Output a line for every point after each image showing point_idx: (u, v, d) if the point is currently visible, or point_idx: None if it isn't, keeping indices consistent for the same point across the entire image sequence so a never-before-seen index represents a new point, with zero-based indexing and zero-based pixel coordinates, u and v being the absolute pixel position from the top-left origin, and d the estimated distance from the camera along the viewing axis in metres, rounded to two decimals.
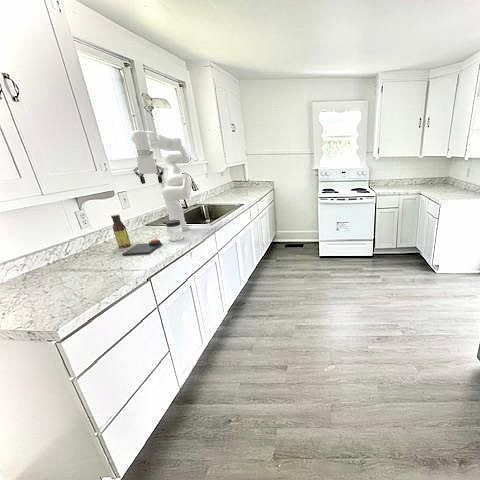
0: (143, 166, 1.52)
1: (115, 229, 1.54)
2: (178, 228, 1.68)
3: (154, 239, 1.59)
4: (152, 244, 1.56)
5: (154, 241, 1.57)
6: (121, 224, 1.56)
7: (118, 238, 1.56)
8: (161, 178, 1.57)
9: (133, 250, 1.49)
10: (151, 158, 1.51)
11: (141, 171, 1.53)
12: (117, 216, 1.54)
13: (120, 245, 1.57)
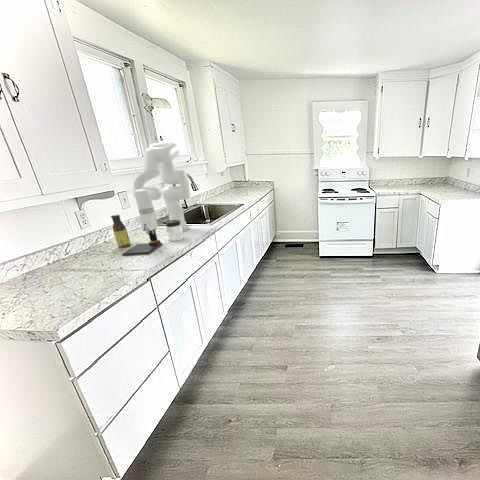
0: (152, 222, 1.53)
1: (115, 229, 1.54)
2: (178, 228, 1.68)
3: None
4: (152, 244, 1.56)
5: (154, 241, 1.58)
6: (121, 224, 1.56)
7: (118, 238, 1.56)
8: None
9: (133, 250, 1.49)
10: (154, 213, 1.57)
11: (151, 228, 1.53)
12: (117, 216, 1.54)
13: (120, 245, 1.57)
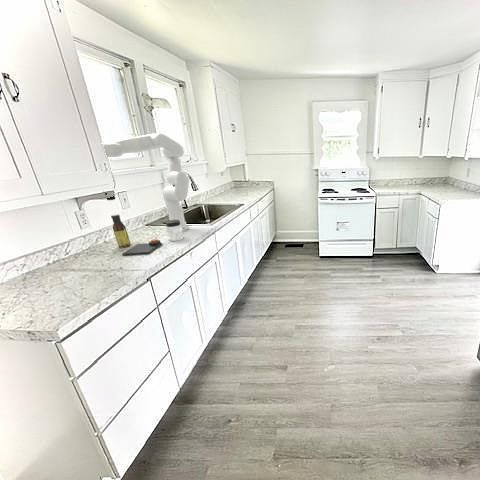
0: None
1: (115, 229, 1.54)
2: (178, 228, 1.68)
3: (154, 239, 1.59)
4: (152, 244, 1.56)
5: (154, 241, 1.57)
6: (121, 224, 1.56)
7: (118, 238, 1.56)
8: None
9: (133, 250, 1.49)
10: (111, 171, 1.50)
11: None
12: (117, 216, 1.54)
13: (120, 245, 1.57)
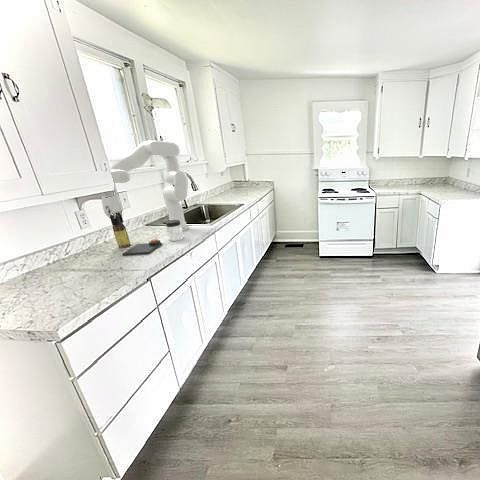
0: (115, 205, 1.51)
1: (115, 229, 1.54)
2: (178, 228, 1.68)
3: (154, 239, 1.59)
4: (152, 244, 1.56)
5: (154, 241, 1.57)
6: (121, 224, 1.56)
7: (118, 238, 1.56)
8: (120, 218, 1.58)
9: (133, 250, 1.49)
10: None
11: (114, 211, 1.50)
12: (117, 216, 1.54)
13: (120, 245, 1.57)
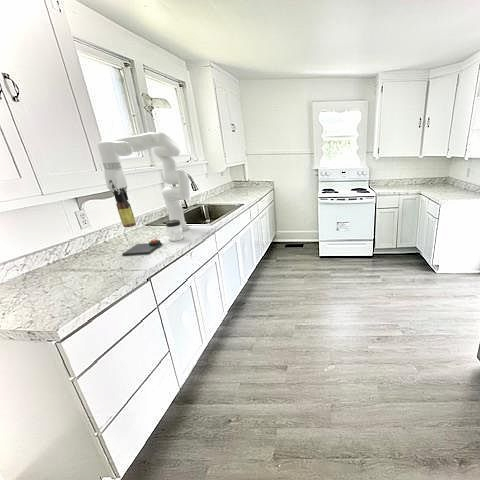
0: (119, 180, 1.38)
1: (119, 207, 1.41)
2: (178, 228, 1.68)
3: (154, 239, 1.59)
4: (152, 244, 1.56)
5: (154, 241, 1.57)
6: (125, 201, 1.43)
7: (122, 217, 1.43)
8: None
9: (133, 250, 1.49)
10: (122, 171, 1.42)
11: (118, 186, 1.37)
12: (121, 192, 1.41)
13: (125, 224, 1.45)
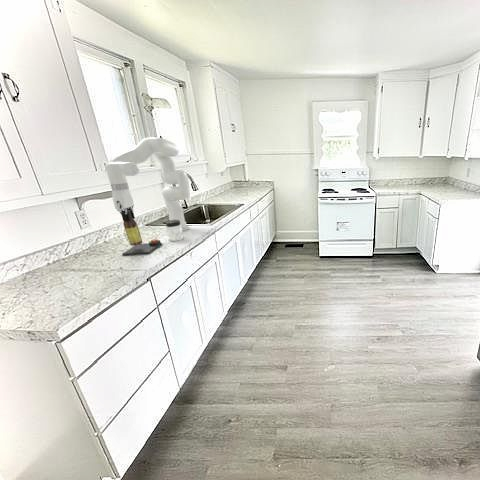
0: (126, 200, 1.41)
1: (126, 226, 1.44)
2: (178, 228, 1.68)
3: (154, 239, 1.59)
4: (152, 244, 1.56)
5: (154, 241, 1.57)
6: (132, 220, 1.46)
7: (129, 235, 1.46)
8: (131, 213, 1.48)
9: (133, 250, 1.49)
10: (129, 191, 1.44)
11: (125, 206, 1.40)
12: (128, 212, 1.44)
13: (132, 243, 1.48)
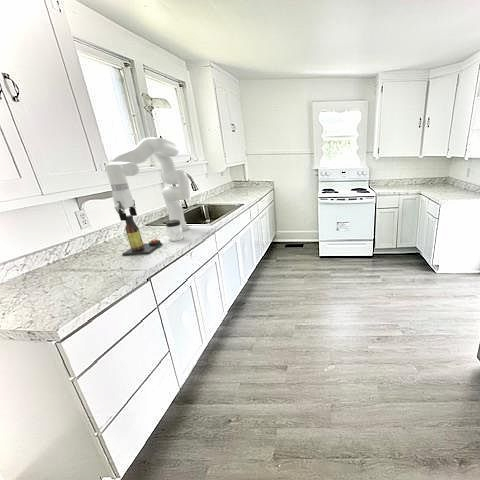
0: (127, 200, 1.41)
1: (128, 231, 1.45)
2: (178, 228, 1.68)
3: (154, 239, 1.59)
4: (152, 244, 1.56)
5: (154, 241, 1.57)
6: (134, 225, 1.47)
7: (131, 240, 1.47)
8: None
9: (133, 250, 1.49)
10: (129, 191, 1.44)
11: (126, 206, 1.40)
12: (130, 217, 1.45)
13: (133, 247, 1.49)
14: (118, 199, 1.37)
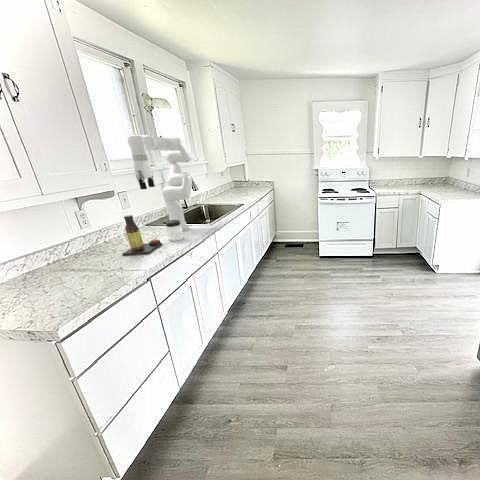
0: (146, 170, 1.52)
1: (128, 231, 1.45)
2: (178, 228, 1.68)
3: (154, 239, 1.59)
4: (152, 244, 1.56)
5: (154, 241, 1.57)
6: (134, 225, 1.47)
7: (131, 240, 1.47)
8: None
9: (133, 250, 1.49)
10: (148, 162, 1.55)
11: (145, 176, 1.51)
12: (130, 217, 1.45)
13: (133, 247, 1.49)
14: (139, 168, 1.48)
